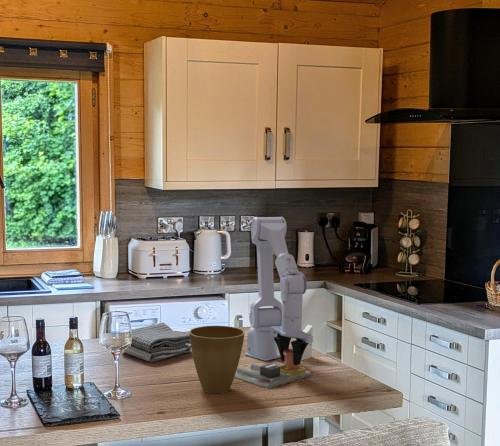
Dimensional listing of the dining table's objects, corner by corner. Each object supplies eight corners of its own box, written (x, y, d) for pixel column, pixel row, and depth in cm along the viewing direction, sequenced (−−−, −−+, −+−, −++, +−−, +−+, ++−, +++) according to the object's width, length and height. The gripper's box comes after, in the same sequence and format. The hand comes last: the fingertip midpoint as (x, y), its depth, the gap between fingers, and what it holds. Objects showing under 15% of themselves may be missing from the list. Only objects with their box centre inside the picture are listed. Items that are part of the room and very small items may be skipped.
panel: (232, 376, 216) (232, 368, 216) (275, 364, 229) (275, 356, 228) (267, 388, 206) (268, 379, 206) (310, 375, 219) (310, 367, 218)
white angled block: (319, 346, 241) (312, 325, 237) (303, 367, 235) (295, 346, 231) (310, 344, 244) (303, 323, 239) (294, 365, 237) (286, 344, 233)
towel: (118, 354, 236) (119, 329, 236) (163, 343, 250) (163, 320, 249) (150, 364, 226) (150, 339, 225) (194, 353, 240) (195, 329, 239)
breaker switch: (260, 377, 212) (260, 365, 212) (269, 374, 215) (270, 362, 215) (270, 380, 209) (270, 368, 209) (280, 377, 212) (280, 365, 212)
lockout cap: (280, 368, 218) (279, 351, 217) (291, 364, 221) (290, 347, 220) (292, 371, 214) (291, 353, 214) (303, 367, 217) (302, 350, 217)
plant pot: (254, 390, 204) (256, 332, 203) (212, 402, 194) (214, 341, 192) (218, 377, 215) (219, 322, 213) (177, 387, 205) (178, 329, 203)
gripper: (264, 313, 218) (262, 359, 219) (301, 322, 208) (300, 370, 209) (280, 310, 223) (279, 355, 224) (318, 319, 213) (316, 366, 214)
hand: (290, 362), depth 217 cm, fingers closed on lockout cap, 4 cm apart
